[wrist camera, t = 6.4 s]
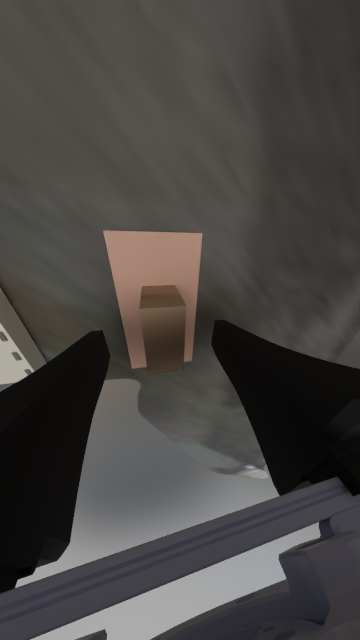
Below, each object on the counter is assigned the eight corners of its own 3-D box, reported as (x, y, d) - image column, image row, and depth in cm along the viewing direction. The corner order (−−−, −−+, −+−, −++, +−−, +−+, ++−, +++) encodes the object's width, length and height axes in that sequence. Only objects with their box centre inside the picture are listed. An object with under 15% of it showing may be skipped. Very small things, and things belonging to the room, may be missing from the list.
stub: (188, 351, 17) (203, 394, 12) (133, 358, 16) (127, 408, 11) (196, 233, 11) (231, 231, 6) (108, 231, 10) (74, 226, 5)
